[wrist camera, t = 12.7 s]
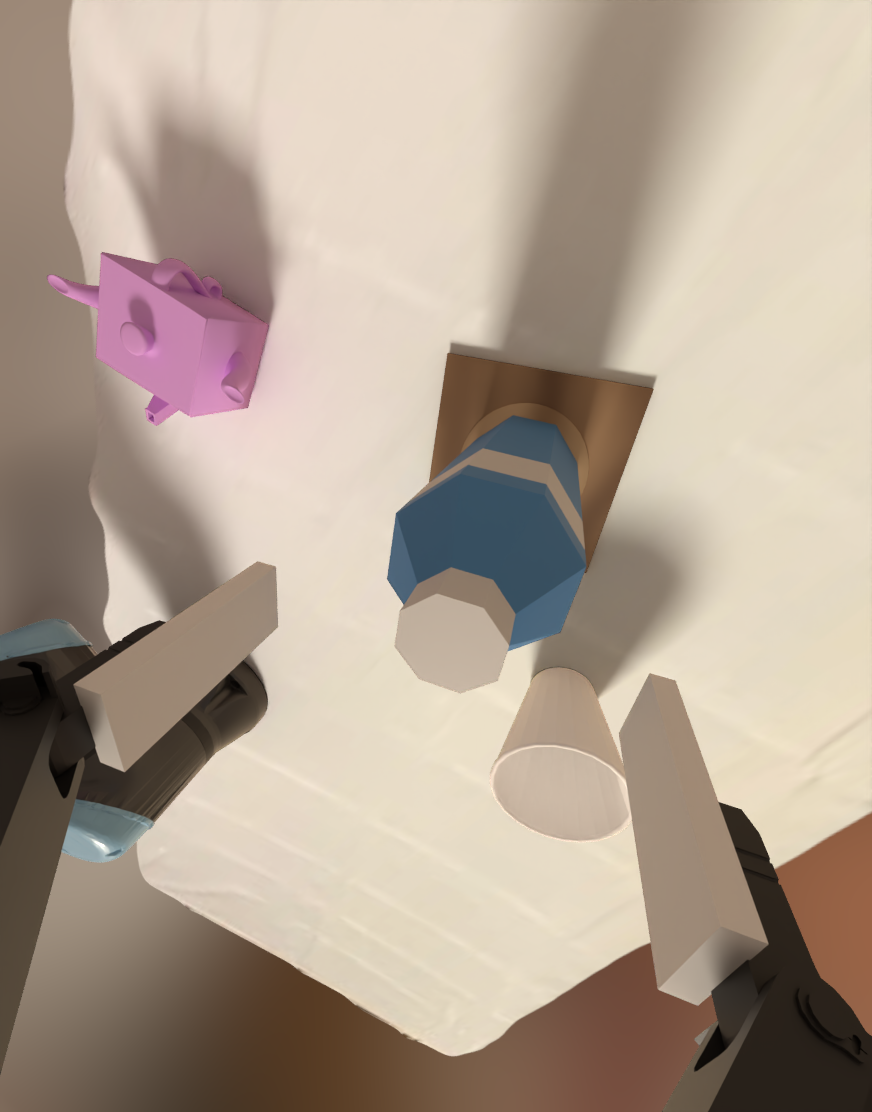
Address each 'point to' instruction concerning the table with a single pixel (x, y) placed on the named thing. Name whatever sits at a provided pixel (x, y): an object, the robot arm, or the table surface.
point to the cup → (562, 763)
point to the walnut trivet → (557, 398)
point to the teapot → (172, 335)
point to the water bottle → (488, 555)
